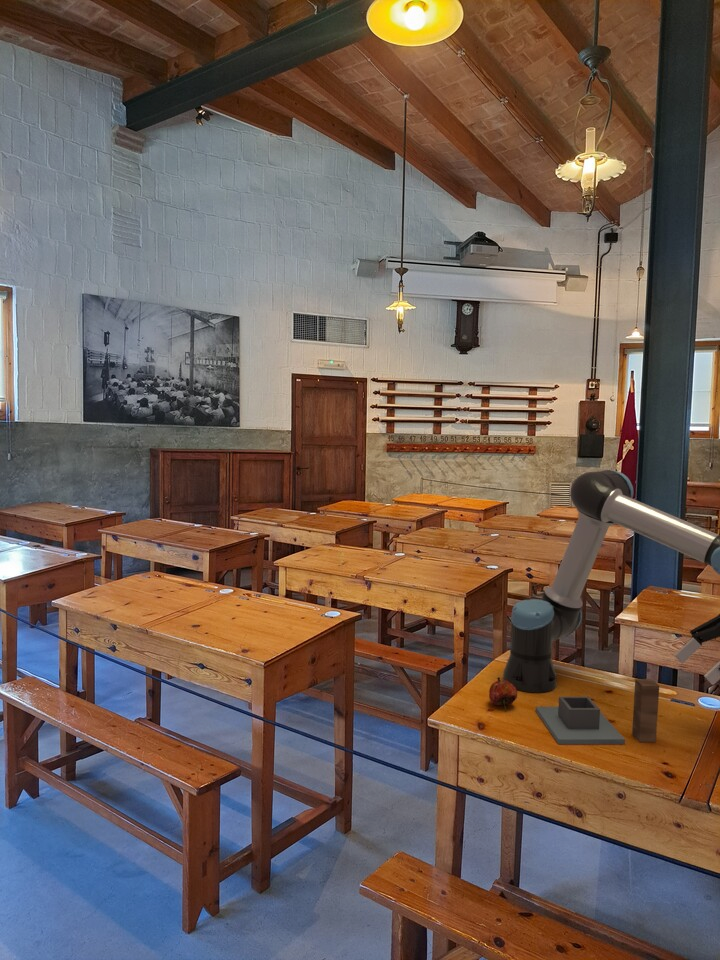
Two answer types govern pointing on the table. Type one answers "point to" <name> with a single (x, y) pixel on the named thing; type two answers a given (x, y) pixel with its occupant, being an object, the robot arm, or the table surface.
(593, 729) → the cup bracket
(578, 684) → the table surface
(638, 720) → the walnut rail post
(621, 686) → the table surface
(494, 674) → the table surface
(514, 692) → the pomegranate
